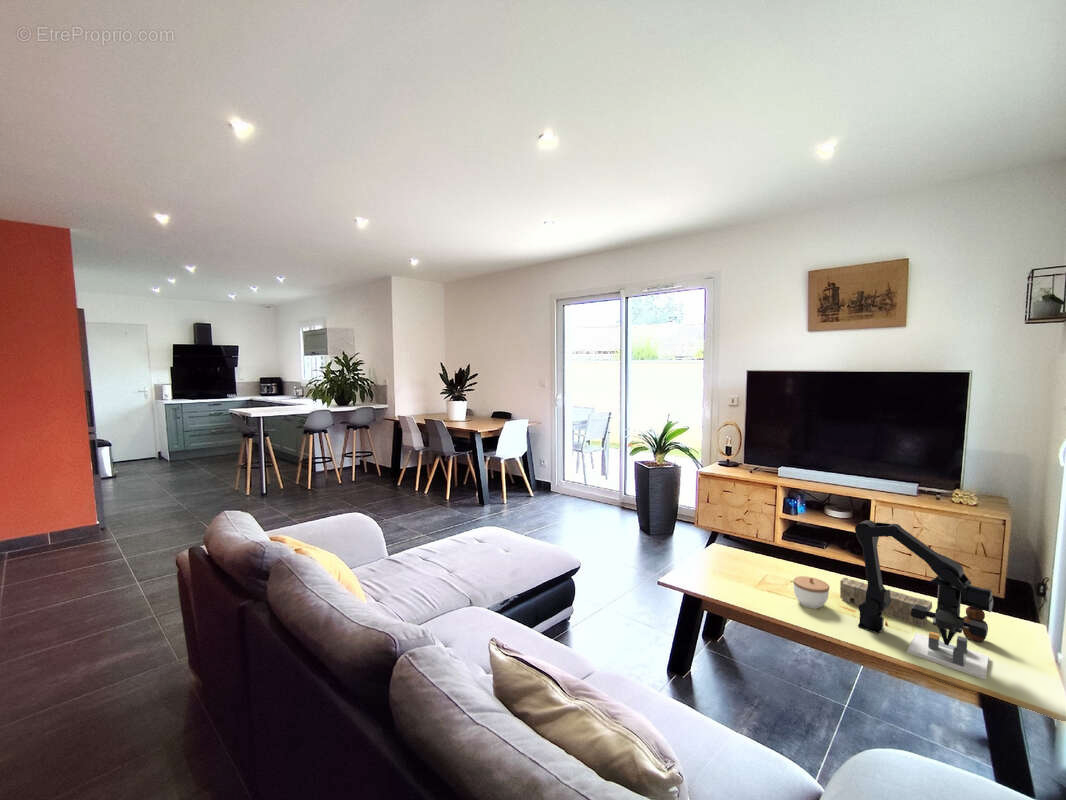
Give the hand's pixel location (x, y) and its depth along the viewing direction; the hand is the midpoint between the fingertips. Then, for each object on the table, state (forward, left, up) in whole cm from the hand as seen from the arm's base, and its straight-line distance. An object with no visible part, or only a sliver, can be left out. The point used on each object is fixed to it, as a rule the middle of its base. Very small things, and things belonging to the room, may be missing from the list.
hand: (946, 644), depth 157 cm
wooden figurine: (+5, +20, -4) cm, 22 cm away
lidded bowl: (-43, +5, -4) cm, 43 cm away
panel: (0, 0, -4) cm, 4 cm away
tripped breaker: (-3, 0, -2) cm, 4 cm away
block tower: (-22, +22, -4) cm, 31 cm away
